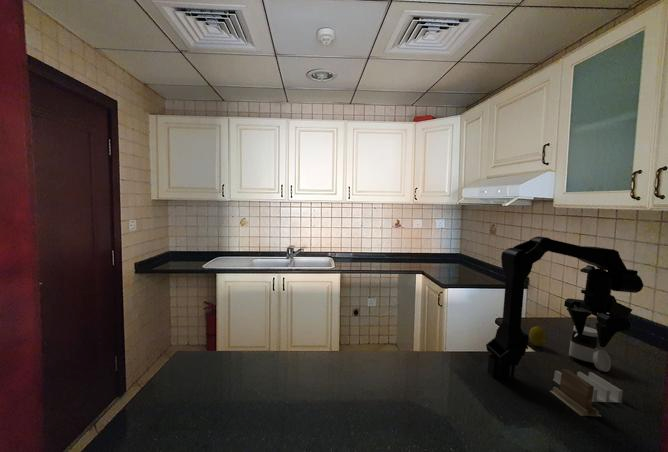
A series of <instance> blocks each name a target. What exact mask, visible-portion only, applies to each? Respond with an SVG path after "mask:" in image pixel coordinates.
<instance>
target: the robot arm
mask: <svg viewBox="0 0 668 452" xmlns="http://www.w3.org/2000/svg"><path fill="white" fill-rule="evenodd" d="M548 252H550V253H554V254H559V255H562V256H567V257H572V258H575V259H578V260H579V261H581V262H583V263H585V264H587V265H586V266H585V267H583V268H581V269H580V270H579V272H581V273H584V274H586V281H585V289H581V290H580V293H581V294H583V299H578V298H569V297H568V298H566V299H565V300H564V304H563V306H564V307H565V308H566V310H567V312H568V314H569V316H570V318H571V321H572V323H573V326H574V325H575V328H576V330H577V332H578V334H582V333H583V331H584V327H585V325H586V324H587V323H586V322H587V318H588V317H590V316H591V315H592V316H595V317H596V321H597V322H595V326H596V330H597V334H598V340H599V347H600V348H606V346H607V345H608V343H609V342H610V341H611V339H612V338H613V337H614V335H615V334H616V333H618V332H621V331H623V332H625V331H626V330H628V331H629V330H630V331H631V329H632V321H631V320H630V318H629V317H630V315H631V313H632V311H633V309H632V308H630V307H628V306H626V305H624V304H622V303H619V302H617V299H616V297H615V296H614V295H612V291H613V292H621V293H633V294H636V293H639V292H641V291H642V290H643V287H644V282H643V280H642V279H643V278H641V276H640V275H638V270H634V269H631V268H630V269H628V268H627V266H626V265H625V263H624V261H623V260H622V258H621V255H620V252H619V251H618V250H616V249H612V248H606V247H599V246H598V247H597V246H589V245H588V246H586V245H585V246H584V245H583V246H582V245H578V244H573V243H570V242H564V241H560V240H556V239H552V238H550V237H546V236H541V235H540V236H535V237H532V238H530V239H529V240H527V241H524V242H521V243H519V244H517V245H515V246H512V247H509V248H506V249H505V250H504V251H502V252H501V256H500V259H501V267H502V270H503V273H504V276H505V285H504V295H503V296H504V297H503V298H504V299H503V310H502V311H503V312H502V322H501V324H500V325H499V327H498V328H497V329H496V333H495V336H494V338H492V339H491V340H490V341H489V342H488V343H486V344H485V347H486V351H487V352H488V353H490V354H488V358H487V359H488V360H487V361H488V363H487V370H486V372H487V374H488V375H489V376H491V378H493V379H496V380H500V381H504V382H507V381H510V380H513V379H515V372H516V366H517V367H518V365H519V364H520V361H521V359H522V357H523V356H525V354H526V352H527V350H529V347H528V343H529V340H530V339H529V334H527V333H526V332H524V331H523V330H522V317H523V307H524V306H523V304H524V293H525V292H524V291H525V282H526V279H527V277H528V276H529V275H530V274H531V272H532V269H533V265H534V264H535V263H536V262H538V261H540V260H541V259H542V258H543V256H544V255H545V254H546V253H548Z"/></svg>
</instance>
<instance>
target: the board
mask: <svg viewBox="0 0 668 452" xmlns="http://www.w3.org/2000/svg"><path fill="white" fill-rule="evenodd" d="M561 373H562V374H561V382H560V385H559V390H561V391H562V392H563V393H564V394H566V395H567V396H568V397H570V398H571V399H572V400H574V401H575V402H576V403H578V404H579V405H580V406H582V407H583V408H584V409H586V410H587V411H588V412H587V413H591V406H592V407H593V404H592V403H593V401H592V398H593V391H594V386H592V385H591V384H589V383H588V382H586V381H585V380H583V379H582V378H580V377H579V376H577V374H575V373H574V372H573V371H571V370H569V369H568V368H566V369H564V368H562V369H561Z"/></svg>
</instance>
